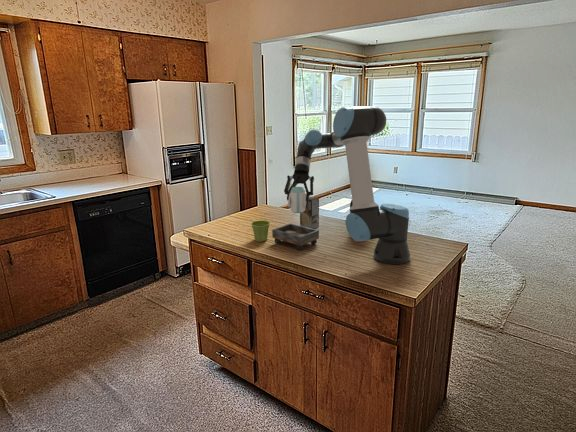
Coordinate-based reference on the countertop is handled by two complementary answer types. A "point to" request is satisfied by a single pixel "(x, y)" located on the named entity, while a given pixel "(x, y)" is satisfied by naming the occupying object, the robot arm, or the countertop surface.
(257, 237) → the plant pot
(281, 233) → the grey rectangular tray
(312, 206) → the coffee box
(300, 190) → the can
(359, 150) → the robot arm
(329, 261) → the countertop surface
